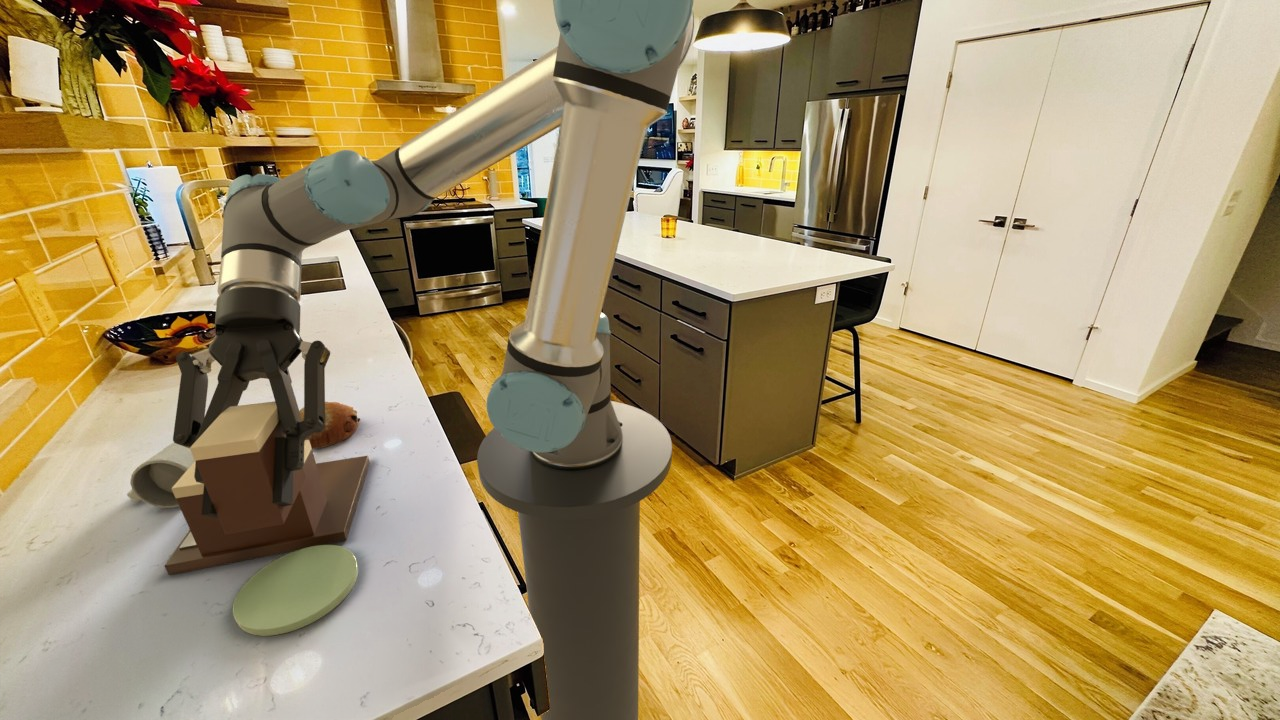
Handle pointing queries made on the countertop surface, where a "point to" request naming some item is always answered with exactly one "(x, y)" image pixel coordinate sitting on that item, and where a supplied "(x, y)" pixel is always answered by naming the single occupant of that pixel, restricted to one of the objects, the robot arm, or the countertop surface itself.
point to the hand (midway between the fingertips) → (249, 509)
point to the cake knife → (188, 542)
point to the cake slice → (243, 467)
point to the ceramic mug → (160, 476)
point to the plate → (295, 590)
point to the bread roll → (334, 425)
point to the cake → (215, 540)
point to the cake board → (333, 526)
